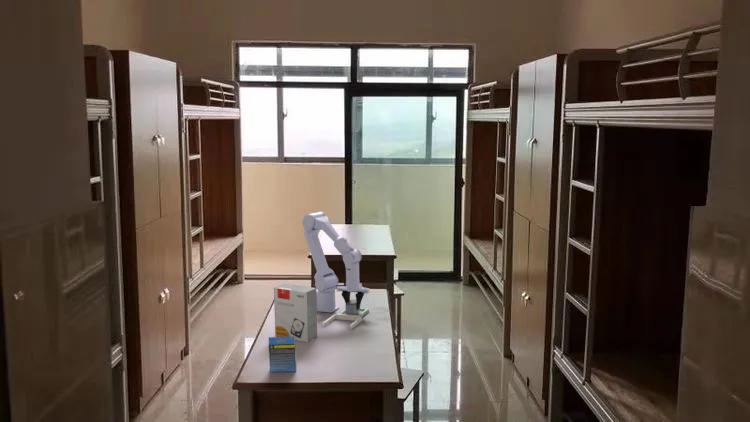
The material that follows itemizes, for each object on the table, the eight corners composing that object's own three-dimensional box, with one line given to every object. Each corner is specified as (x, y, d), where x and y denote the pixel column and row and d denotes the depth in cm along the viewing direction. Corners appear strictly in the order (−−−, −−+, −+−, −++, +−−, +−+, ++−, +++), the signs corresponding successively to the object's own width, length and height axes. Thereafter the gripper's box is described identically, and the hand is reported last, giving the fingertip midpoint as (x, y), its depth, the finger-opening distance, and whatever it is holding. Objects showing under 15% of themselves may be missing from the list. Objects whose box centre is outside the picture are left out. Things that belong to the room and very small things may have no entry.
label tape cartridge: (297, 367, 225) (295, 332, 224) (296, 371, 221) (294, 336, 220) (270, 368, 225) (269, 333, 223) (269, 372, 221) (268, 337, 219)
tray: (337, 317, 282) (337, 314, 282) (347, 310, 293) (347, 306, 293) (359, 319, 279) (359, 316, 278) (368, 311, 290) (368, 308, 290)
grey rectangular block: (345, 314, 283) (345, 303, 282) (351, 310, 289) (351, 299, 289) (354, 315, 281) (354, 304, 281) (360, 311, 288) (359, 300, 287)
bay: (322, 326, 270) (322, 321, 270) (333, 318, 281) (333, 313, 281) (351, 329, 266) (351, 324, 266) (361, 320, 277) (361, 316, 277)
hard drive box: (274, 337, 258) (272, 287, 255) (285, 331, 265) (284, 283, 262) (307, 342, 251) (306, 291, 248) (318, 336, 257) (317, 287, 255)
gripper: (333, 278, 282) (334, 309, 284) (365, 281, 278) (365, 312, 279) (339, 275, 289) (340, 305, 291) (370, 277, 284) (371, 307, 286)
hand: (353, 308), depth 285 cm, fingers closed on grey rectangular block, 4 cm apart
